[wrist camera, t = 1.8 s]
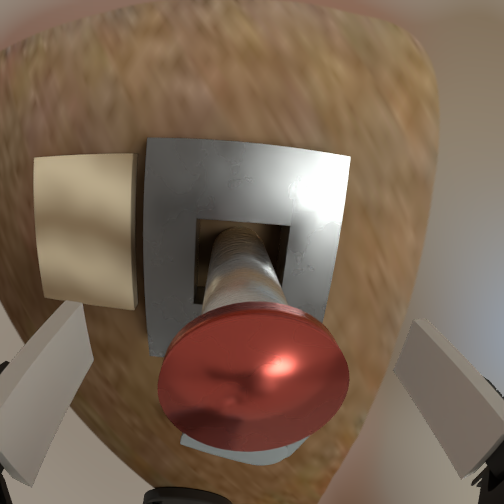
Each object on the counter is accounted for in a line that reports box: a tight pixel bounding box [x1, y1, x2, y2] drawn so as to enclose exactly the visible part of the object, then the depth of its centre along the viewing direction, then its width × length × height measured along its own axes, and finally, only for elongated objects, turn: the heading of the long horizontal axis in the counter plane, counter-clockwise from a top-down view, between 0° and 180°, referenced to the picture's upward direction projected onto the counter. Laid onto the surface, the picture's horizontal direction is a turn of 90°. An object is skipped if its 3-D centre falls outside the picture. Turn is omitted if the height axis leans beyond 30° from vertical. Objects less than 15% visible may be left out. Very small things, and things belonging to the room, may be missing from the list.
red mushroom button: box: [158, 227, 349, 452], centre depth 15 cm, size 6×6×15 cm
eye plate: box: [143, 138, 350, 357], centre depth 21 cm, size 16×13×3 cm
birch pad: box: [34, 154, 138, 310], centre depth 20 cm, size 12×9×1 cm
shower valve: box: [180, 433, 310, 465], centre depth 26 cm, size 12×6×15 cm
